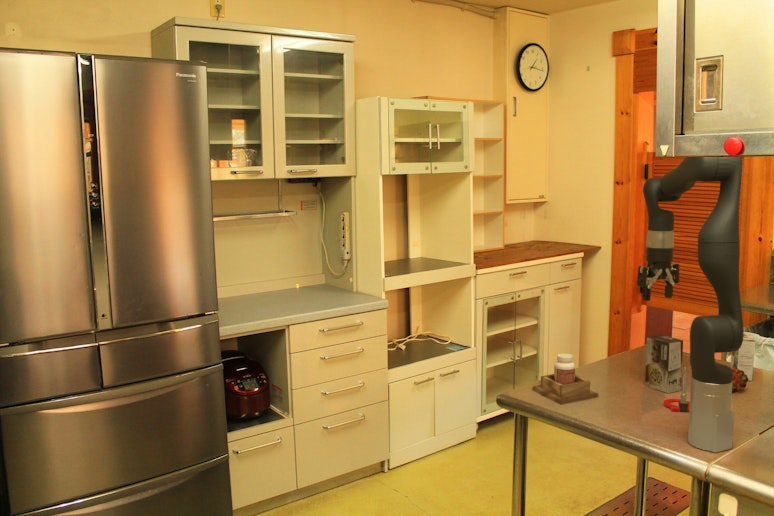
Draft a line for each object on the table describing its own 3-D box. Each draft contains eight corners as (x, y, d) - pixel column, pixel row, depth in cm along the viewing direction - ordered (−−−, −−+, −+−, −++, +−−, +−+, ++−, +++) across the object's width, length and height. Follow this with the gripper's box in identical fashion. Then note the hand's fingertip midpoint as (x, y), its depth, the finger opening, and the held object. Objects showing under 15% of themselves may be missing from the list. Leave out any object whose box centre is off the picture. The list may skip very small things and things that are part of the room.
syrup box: (729, 374, 219) (731, 332, 217) (748, 376, 217) (751, 333, 215) (733, 380, 213) (735, 336, 211) (753, 381, 212) (756, 337, 210)
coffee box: (681, 390, 205) (684, 340, 202) (667, 393, 202) (669, 343, 199) (658, 382, 213) (660, 333, 210) (643, 385, 210) (646, 336, 208)
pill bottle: (578, 392, 201) (579, 357, 199) (561, 394, 199) (562, 359, 197) (566, 385, 207) (567, 351, 205) (549, 388, 205) (550, 353, 203)
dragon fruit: (751, 398, 201) (707, 398, 206) (748, 376, 207) (706, 376, 212) (749, 382, 196) (705, 382, 201) (746, 359, 202) (703, 360, 207)
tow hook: (659, 401, 197) (668, 412, 187) (661, 359, 195) (670, 367, 186) (689, 403, 195) (699, 413, 186) (691, 360, 194) (701, 368, 185)
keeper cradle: (598, 397, 200) (598, 382, 199) (560, 404, 194) (561, 389, 193) (568, 383, 212) (568, 369, 212) (532, 390, 207) (532, 375, 206)
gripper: (651, 248, 188) (648, 303, 190) (688, 245, 193) (685, 299, 195) (632, 245, 194) (629, 299, 197) (668, 242, 200) (665, 294, 202)
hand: (657, 299), depth 196 cm, fingers open, 8 cm apart
